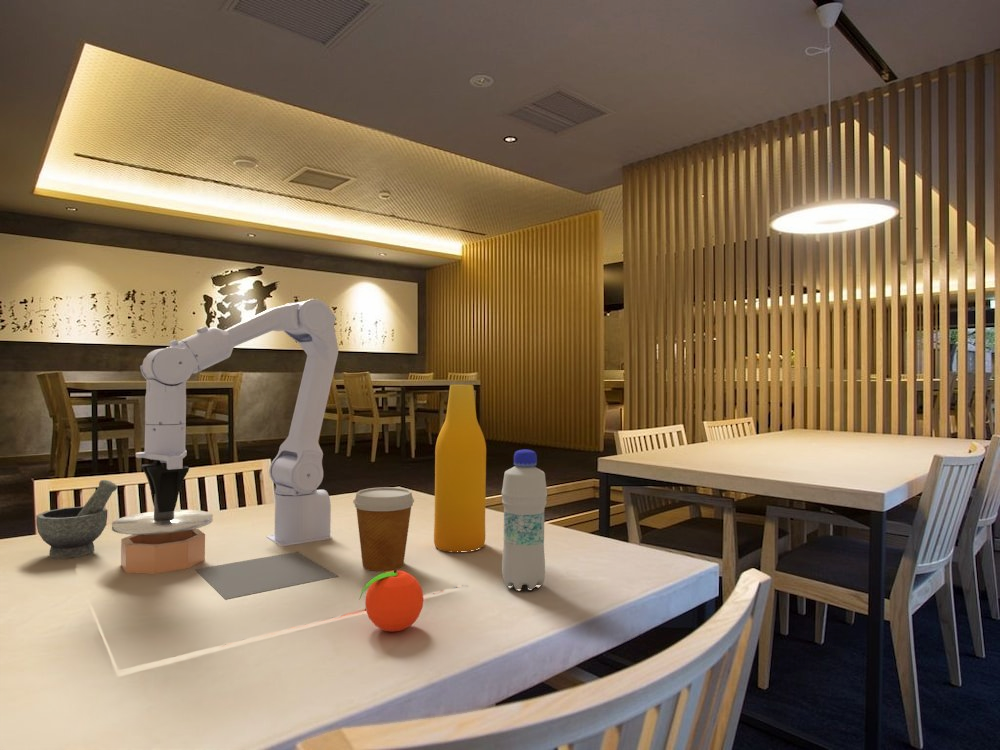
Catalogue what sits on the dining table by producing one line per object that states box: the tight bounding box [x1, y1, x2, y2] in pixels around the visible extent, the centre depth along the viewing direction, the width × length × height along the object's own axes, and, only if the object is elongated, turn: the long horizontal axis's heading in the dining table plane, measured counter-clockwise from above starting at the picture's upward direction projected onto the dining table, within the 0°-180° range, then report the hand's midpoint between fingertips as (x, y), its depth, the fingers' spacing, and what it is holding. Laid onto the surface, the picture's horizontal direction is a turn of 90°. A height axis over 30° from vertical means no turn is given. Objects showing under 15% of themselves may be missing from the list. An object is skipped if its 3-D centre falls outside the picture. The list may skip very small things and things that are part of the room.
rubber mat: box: [194, 551, 339, 601], centre depth 93 cm, size 16×16×1 cm
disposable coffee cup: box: [352, 486, 415, 572], centre depth 98 cm, size 10×10×12 cm
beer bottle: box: [433, 384, 487, 553], centre depth 111 cm, size 9×9×29 cm
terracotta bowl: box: [120, 528, 206, 575], centre depth 98 cm, size 11×11×4 cm
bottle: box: [501, 449, 548, 590], centre depth 90 cm, size 7×7×20 cm
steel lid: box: [111, 494, 214, 536], centre depth 98 cm, size 14×14×5 cm
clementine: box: [358, 569, 425, 632], centre depth 74 cm, size 8×7×7 cm
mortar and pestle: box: [35, 479, 118, 559], centre depth 104 cm, size 11×9×12 cm
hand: (164, 509), depth 98 cm, fingers closed on steel lid, 3 cm apart
